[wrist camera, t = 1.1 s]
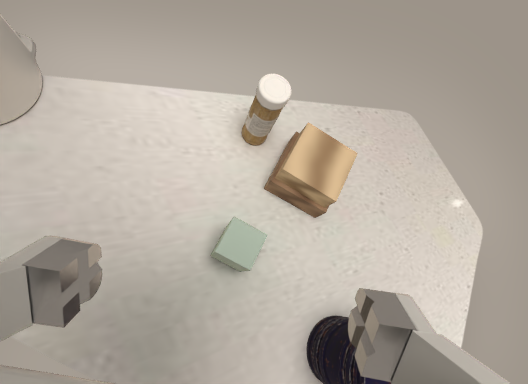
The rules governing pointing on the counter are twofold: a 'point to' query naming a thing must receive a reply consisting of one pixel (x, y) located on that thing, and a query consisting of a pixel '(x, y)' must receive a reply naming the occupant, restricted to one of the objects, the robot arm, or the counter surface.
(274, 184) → the walnut block
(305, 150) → the oak block
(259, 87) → the sprinkles bottle
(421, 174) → the counter surface
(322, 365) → the storage jar
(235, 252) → the sage block
